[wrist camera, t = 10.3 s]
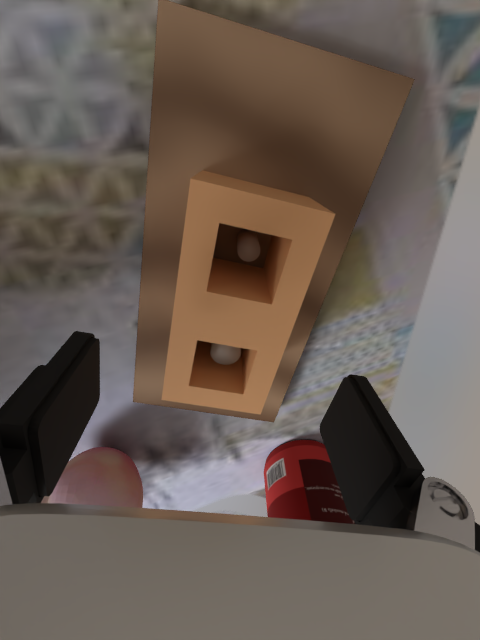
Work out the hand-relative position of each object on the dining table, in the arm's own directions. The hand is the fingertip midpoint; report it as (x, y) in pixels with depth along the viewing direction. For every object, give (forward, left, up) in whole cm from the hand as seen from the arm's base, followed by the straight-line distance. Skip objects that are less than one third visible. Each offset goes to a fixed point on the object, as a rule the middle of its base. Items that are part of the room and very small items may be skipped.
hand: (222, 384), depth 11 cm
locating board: (0, -1, -11) cm, 11 cm away
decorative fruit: (-21, +7, -11) cm, 24 cm away
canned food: (-19, -12, -11) cm, 24 cm away
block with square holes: (0, 0, -9) cm, 9 cm away
